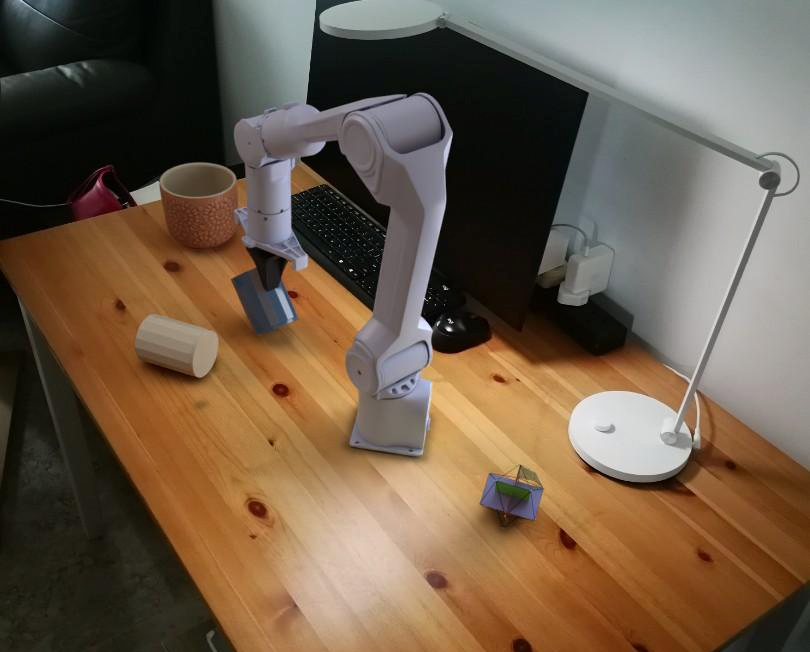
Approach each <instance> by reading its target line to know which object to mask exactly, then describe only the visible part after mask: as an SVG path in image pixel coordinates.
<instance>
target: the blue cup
mask: <svg viewBox="0 0 810 652" xmlns="http://www.w3.org/2000/svg"><path fill="white" fill-rule="evenodd" d="M230 281H231V284H232V285H233V288H234V290H235V293H236V295H237V297H238V299H239V302H240V304H241V306H242V309H243V311H244V314H245V316H246V318H247V320H248V322H249V325H250V327H251V329H252V331H253V334H254V335H255V337H256V338H258V337H260V336H263V335H265V334H268V333H270V332H272V331H275V330H277V329H279V328H282V327H285V326H287V325H289V324H291V323H293V322H296V321H298V320H299V317H298V314H297V312H296V310H295V307H294V305H293V303H292V300H291V297H290V295H289V293H288V291H287V289H286V286H285V284H284V282H283V279H282V278H281V281H280V284H279V287H278V288H275V289H273V290H271V291H266V290H265V289H264V288H263V285H262V283H261V280H260V276H259V273H258V270H257V268H256V267H254V268H252V269H249V270H247V271H245V272H242V273H240V274H238V275H236V276H234V277H232V278H231V279H230Z"/></svg>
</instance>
